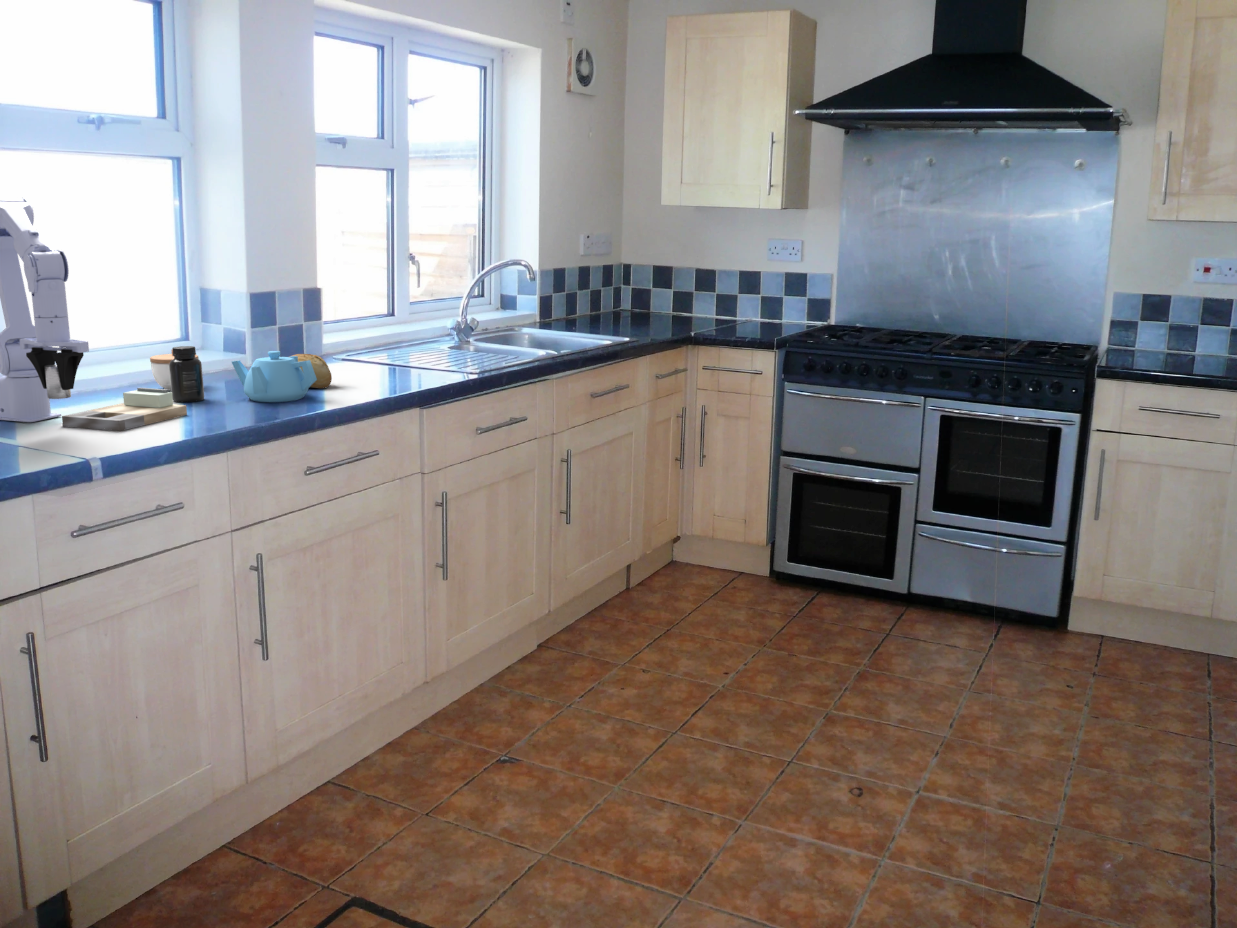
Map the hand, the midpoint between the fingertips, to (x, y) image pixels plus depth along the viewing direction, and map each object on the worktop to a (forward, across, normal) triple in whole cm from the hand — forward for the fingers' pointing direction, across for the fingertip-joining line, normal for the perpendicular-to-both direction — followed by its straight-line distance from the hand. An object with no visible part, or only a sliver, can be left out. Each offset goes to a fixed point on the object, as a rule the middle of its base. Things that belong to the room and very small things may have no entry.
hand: (58, 388), depth 212 cm
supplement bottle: (+9, -3, +39) cm, 40 cm away
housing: (+9, +2, +15) cm, 17 cm away
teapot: (+9, +13, +49) cm, 51 cm away
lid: (+6, +2, +21) cm, 22 cm away
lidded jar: (+9, -17, +52) cm, 55 cm away
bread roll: (+9, +9, +66) cm, 67 cm away
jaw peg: (+2, 0, 0) cm, 2 cm away
